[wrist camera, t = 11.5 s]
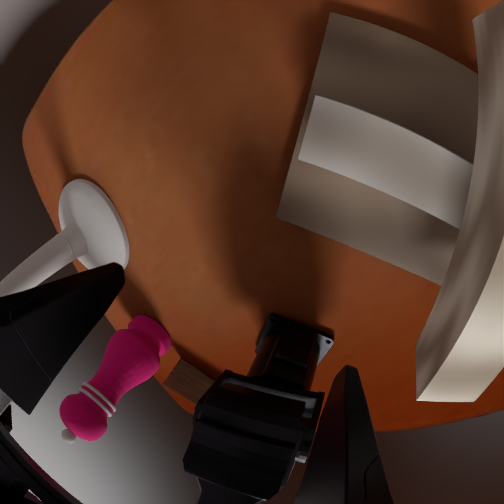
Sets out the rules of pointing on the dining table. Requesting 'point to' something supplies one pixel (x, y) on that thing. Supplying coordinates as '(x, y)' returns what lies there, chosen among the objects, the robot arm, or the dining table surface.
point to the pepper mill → (114, 378)
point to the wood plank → (188, 381)
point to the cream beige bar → (473, 252)
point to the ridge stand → (385, 148)
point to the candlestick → (75, 238)
